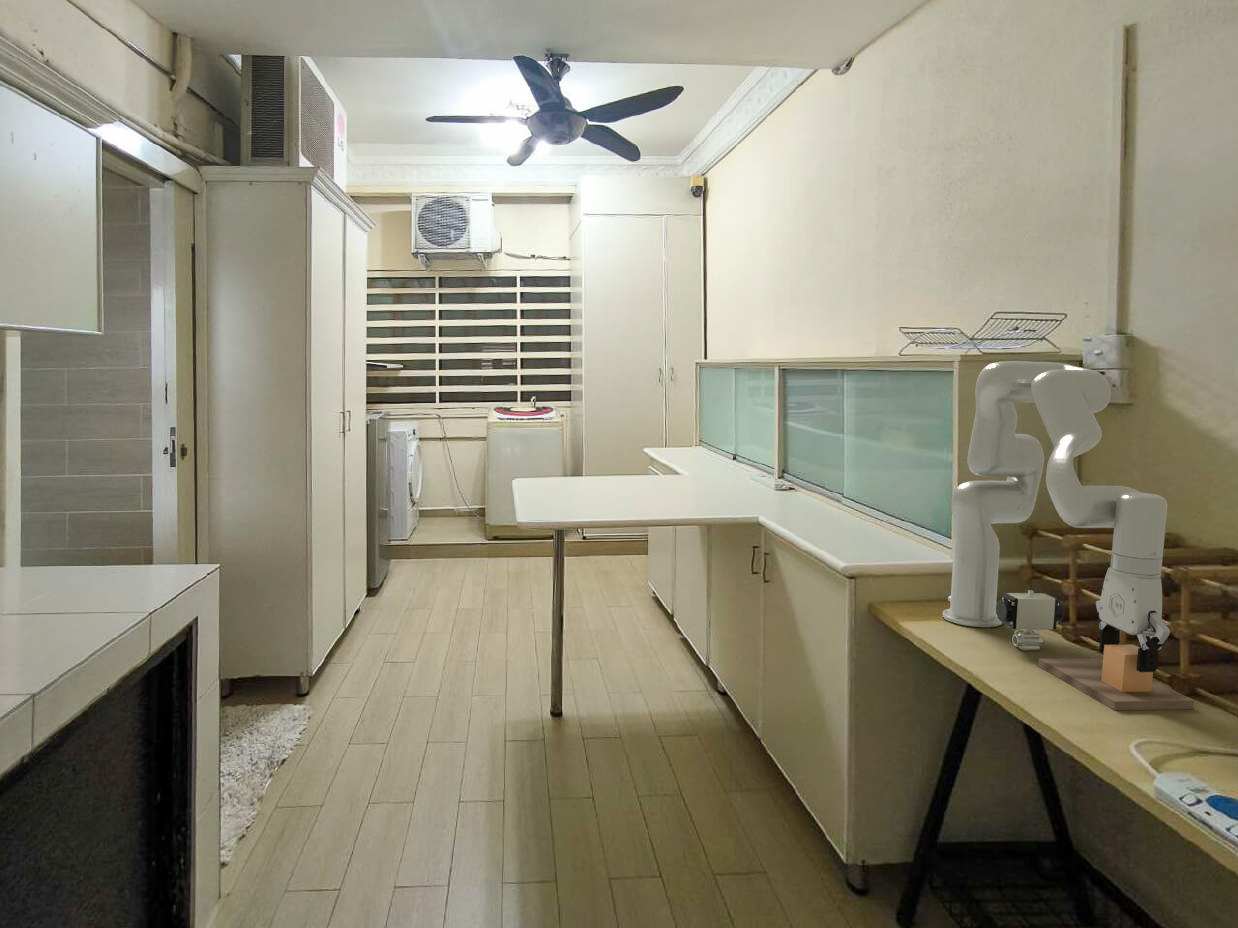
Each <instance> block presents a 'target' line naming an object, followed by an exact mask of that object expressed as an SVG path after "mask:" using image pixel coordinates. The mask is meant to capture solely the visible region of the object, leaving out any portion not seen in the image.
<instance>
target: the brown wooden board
mask: <svg viewBox="0 0 1238 928" xmlns="http://www.w3.org/2000/svg"><path fill="white" fill-rule="evenodd" d="M1037 663H1038V664H1037V666H1038V667H1039V668H1041V669H1042V670H1044V671H1046V672H1048V673H1050V675H1053V676H1054V677H1056V678H1058V679H1060V680H1061V681H1062V682H1065V683H1067V684H1068V685H1070V686H1072V687H1073V688H1075V689H1077V690H1078V691H1080V692H1082V693H1084V694H1085V695H1087V696H1089V697H1090V698H1092V699H1093V700H1096V701H1097V702H1099V703H1101V704H1102V705H1105V706H1106V707H1108V708H1110V709H1111V710H1113V711H1143V710H1144V711H1148V710H1149V711H1150V710H1151V711H1152V710H1153V711H1156V710H1194V706H1195V705H1194V703H1195V700H1194V699H1192V698H1190V697H1188V696H1186V695H1184V694H1182V693H1180V692H1178V691H1176V690H1174V689H1172V688H1171V687H1168V686H1167V685H1164V684H1162V683H1160V682H1158V681H1156V680H1154V679H1152V691H1138V692H1121V691H1120V690H1118V689H1116V688H1114V687H1112V686H1110V685H1109V684H1107V683H1105V682H1103V681H1101V680H1102V668H1103V657H1061V658H1060V657H1058V658H1057V657H1049V658H1045V657H1044V658H1041V657H1039V658H1038V661H1037Z"/></svg>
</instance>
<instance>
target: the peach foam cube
mask: <svg viewBox="0 0 1238 928" xmlns="http://www.w3.org/2000/svg"><path fill="white" fill-rule="evenodd" d="M1138 648H1141V646H1140V647H1139V646H1137V645H1136V644H1118V645H1104V653H1103V657H1102V658H1103V668H1102V680H1101V681H1103V682H1105V683H1107V684H1109V685H1110V686H1112V687H1114V688H1116V689H1118V690H1120V691H1121V692H1138V691H1152V680H1154V678H1153V677H1154V672H1139V671H1137V670H1136V667H1137V656H1138Z"/></svg>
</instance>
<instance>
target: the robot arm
mask: <svg viewBox="0 0 1238 928" xmlns="http://www.w3.org/2000/svg"><path fill="white" fill-rule="evenodd" d="M1111 393H1112V392H1111V386H1110V383H1109V381H1108V379H1107V378H1106V377H1105V376H1104V375H1103V374H1102V373H1101V372H1099V371H1097V370H1094V369H1090V368H1085V367H1081V366H1076V365H1072V364H1068V363H1064V362H1063V363H1062V362H1052V361H1051V362H1050V361H1030V360H1005V361H1004V360H1002V361H997V362H992V363H989V364H988V365H986V366H985V367H984V368H983V369H982V370H981V371H980V373H979V374H978V377H977V379H976V383H975V391H974V394H975V396H974V397H975V414H974V415H975V416H974V419H973V426H972V429H971V436H970V441H969V444H968V445H969V446H968V452H967V459H966V460H967V467H968V469H969V471H970V472H971V473H972V474H973V475H975V476H980V477H985V478H986V477H987V478H988V477H989V478H991V477H992V478H1006V480H989V479H988V480H986V479H985V480H969V481H966V482H962V483H961V484H959V485H958V486H957V487H955V489H954V490H953V492H952V497H951V507H952V508H951V509H952V514H953V525H954V528H953V529H954V530H953V531H954V534H953V535H954V537H953V555H952V556H953V557H952V572H951V573H952V574H951V585H950V587H951V588H950V590H951V591H950V592H951V593H950V595H949V596H948V597H947V601H949V602H950V603H949V604H950V606H949V608H946V609H944V610H943V611H942V615H943V616H942V618H943V617H944V618H943V619H944V620H946V621H948V622H950V623H954V624H956V625H960V626H961V625H962V626H966V627H967V626H968V627H974V628H994V627H999V626H1001V625H1002V624H1003V623H1002V622H1001V621H1000V620H999V619H998V617H997V613H996V606H997V598H998V597H997V596H998V595H997V594H998V585H999V584H998V582H999V581H998V580H999V568H1000V565H999V564H1000V549H1001V546H1000V545H1001V544H1000V541H999V537H998V535H997V534H996V532H995V530H994V527H992V524H1019V523H1022V522H1023V523H1024V522H1025V521H1027V520H1028V519H1029V518H1030V517H1031V516H1032V513H1033V512H1034V509H1035V505H1036V501H1037V498H1038V494H1039V493H1038V492H1039V489H1040V484H1041V479H1042V474H1043V469H1044V463H1045V453H1044V449H1043V446H1042V443H1041V442H1040V441H1039V439H1038V438H1036V437H1035V436H1033V435H1030V434H1026V433H1016V428H1017V425H1018V419H1019V418H1018V413H1017V410H1016V406H1015V405H1014V403H1028V404H1030V403H1033V404H1034V405H1035V407H1036V410H1037V411H1038V414H1039V416H1040V419H1041V421H1042V424H1043V425H1044V428H1045V430H1046V432H1047V435H1048V437H1049V440H1050V442H1051V444H1052V447H1053V450H1052V452H1051V454H1050V456H1049V459H1048V462H1047V465H1046V469H1045V470H1046V471H1045V472H1046V473H1045V483H1046V488H1047V491H1048V493H1049V494H1048V495H1049V496H1050V499H1051V502H1052V504H1053V506H1054V508H1055V511H1056V512H1057V514H1058V515H1059V516H1058V517H1060V519H1061V520H1062V521H1063V522H1064V523H1065V524H1067V525H1069V526H1071V527H1072V528H1078V529H1096V528H1097V529H1103V528H1104V529H1113V535H1112V546H1111V557H1110V566H1109V567H1108V568H1107V571H1106V573H1105V576H1104V581H1103V585H1102V589H1101V596H1100V599H1099V600H1096V601H1095V606H1096V610H1097V612H1096V616H1097V619H1098V621H1099V624H1098V628H1099V629H1100V635H1099V636H1100V637H1099V638H1100V639H1099V648H1098V650H1099V652H1100V653H1102V654H1104V645H1120V631H1121V632H1123V633H1125V634H1127V635H1131V636H1137V639H1138V641H1139V645H1140V648H1138V656H1137V667H1136V670H1137V671H1139V672H1153V673H1155V672H1156V671H1157V666H1158V656H1159V651H1160V650H1162V648H1163V647H1162V646H1164V645H1165V644H1166V642H1167V641H1166V640H1167V639H1168V637H1169V636H1170V633H1171V629H1170V628H1169V627H1168V626H1167V625H1166V623H1165V622H1164V621H1163V619H1162V614H1163V586H1162V585H1163V583H1162V578H1161V577H1162V566H1163V557H1164V546H1165V537H1166V526H1167V516H1168V502H1167V499H1166V498H1165V497H1163V496H1161V495H1159V494H1156V493H1155V494H1154V493H1148V492H1141V491H1139V490H1137V489H1135V488H1132V487H1130V486H1124V485H1082V484H1081V481H1080V480H1079V477H1078V476H1077V473H1076V471H1075V467H1074V458H1075V457H1078V456H1081V455H1082V454H1084V453H1087V452H1088V451H1090V450H1091V449H1093V448H1094V447H1096V446H1097V445H1098V444H1099V443H1100V442H1101V439H1102V436H1103V433H1102V432H1103V431H1102V428H1101V426H1100V424H1099V423H1098V421H1097V419H1096V417H1095V415H1094V414H1095V413H1099V412H1101V411H1103V410H1104V409H1105V408H1107V406H1108V405H1109V403H1110V400H1111V398H1112V397H1111V396H1112V394H1111ZM1147 637H1149V638H1150V639H1148V640H1147Z"/></svg>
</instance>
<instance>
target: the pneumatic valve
mask: <svg viewBox="0 0 1238 928" xmlns="http://www.w3.org/2000/svg"><path fill="white" fill-rule="evenodd" d="M995 614H997V617H998V619H999V620H1000V621H1001V622H1002V624H1003V625H1005V626H1007V627H1009V628H1010V629H1012V630H1014V634H1013V635H1012V636H1011V637H1012V638H1011V640H1012V645H1013V646H1014V647H1016V648H1019V650H1021V651H1023V652H1025V651H1027V652H1028V651H1029V652H1030V651H1033V652H1037V651H1040V650H1041V646H1042V645H1043V644H1044V641H1043V640H1044V639H1043V637H1042V635H1041V634H1040V633H1037V632H1039V631H1040V630H1057V625H1058V623H1060V622H1061V621H1062V620H1063V619H1064V607H1063V605H1062V603H1061V601H1059V599H1058V598H1056V597H1055V596H1052V595H1050V594H1049V593H1045V592H1043V593H1041V592H1038V593H1037V592H1034V590H1032V589H1028V590H1027V592H1003V595H1002V598H1001V599H1000V600H998V601H997V602H996V613H995Z"/></svg>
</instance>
